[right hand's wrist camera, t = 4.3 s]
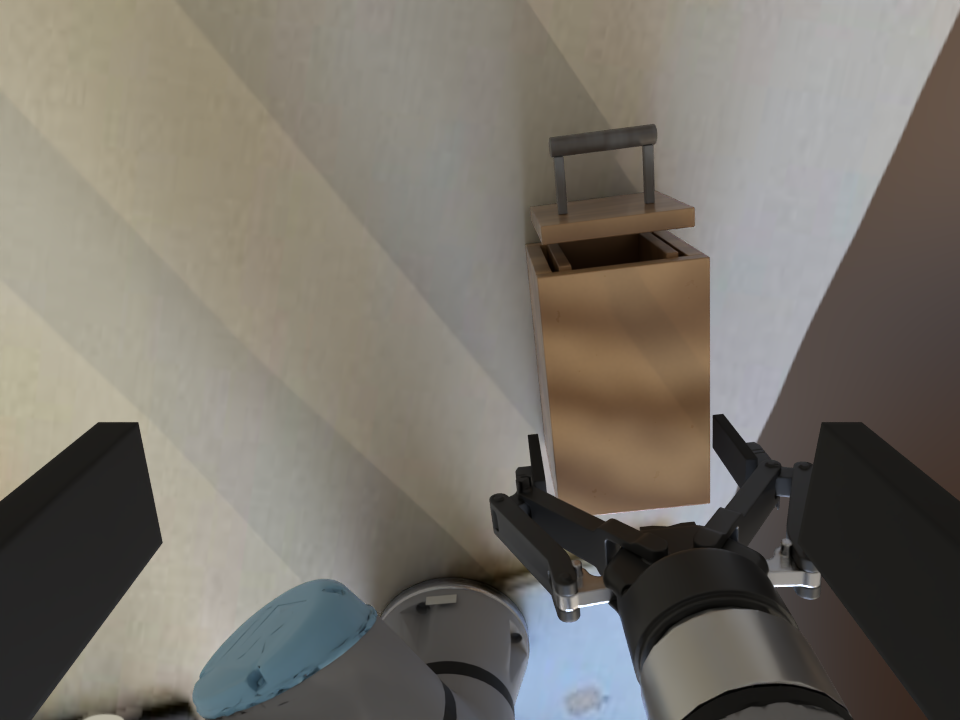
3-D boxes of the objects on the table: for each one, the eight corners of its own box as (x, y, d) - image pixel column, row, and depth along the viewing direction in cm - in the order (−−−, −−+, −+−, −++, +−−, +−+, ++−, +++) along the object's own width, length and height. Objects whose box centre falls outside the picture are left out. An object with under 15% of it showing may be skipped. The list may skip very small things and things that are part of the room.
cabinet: (525, 244, 52) (536, 278, 41) (661, 227, 52) (710, 256, 41) (545, 444, 58) (560, 519, 48) (667, 431, 58) (710, 503, 47)
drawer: (523, 137, 48) (533, 142, 39) (654, 120, 48) (694, 121, 39) (548, 404, 56) (561, 459, 47) (662, 391, 55) (697, 444, 47)
